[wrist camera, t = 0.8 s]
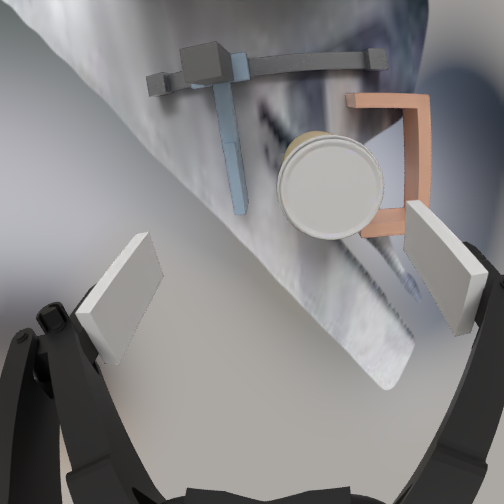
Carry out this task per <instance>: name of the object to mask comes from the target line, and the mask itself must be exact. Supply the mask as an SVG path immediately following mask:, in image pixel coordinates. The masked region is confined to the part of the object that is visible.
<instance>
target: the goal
mask: <svg viewBox="0 0 504 504" xmlns="http://www.w3.org/2000/svg"><path fill="white" fill-rule="evenodd" d="M345 94H346V103H347V107H353V108H402V109H403V125H404V150H405V151H404V157H405V184H404V187H405V188H404V208H390V209H379V210H378V212H377V213H376V215H375V217H374V218H373V219H372V221H371V222H370V223H369V224H368V225H367V226H366V227H365V228H363V229H362V230H361V231H359V232H358V233H359V235H360V236H361V238H368V237H379V236H391V235H401V234H405V215H406V201H413V200H420V201H421V202H422V203H423V204H424V205H425V206H426V207H427V208H428V209H429V206H430V188H431V119H430V100H429V95H424V94H406V93H345Z"/></svg>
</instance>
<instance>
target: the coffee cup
mask: <svg viewBox="0 0 504 504" xmlns="http://www.w3.org/2000/svg"><path fill="white" fill-rule="evenodd" d="M383 194H384V180H383V175H382V171H381V168H380V166H379V164H378V162H377V160H376V158H375V157H374V156H373V154H372V153H371V152H370V151H369V150H368V149H367V148H366V147H365V146H364V145H362V144H361V143H359V142H358V141H356V140H354V139H351V138H349V137H346V136H341V135H335V134H331V133H327V132H323V131H311V132H307V133H304V134H302V135H300V136H298V137H297V138H295V139H294V140H293V141H292V142H291V143H290V145H289V146H288V148H287V150H286V152H285V155H284V159H283V163H282V167H281V169H280V172H279V175H278V180H277V196H278V201H279V204H280V207H281V209H282V211H283V213H284V215H285V216H286V218H287V219H288V220H289V222H290V223H291V224H292V225H293V226H294V227H295V228H297V229H298V230H299V231H301V232H303V233H304V234H306V235H308V236H311V237H314V238H318V239H325V240H336V239H342V238H346V237H349V236H352V235H354V234H356V233H357V232H359V231H361V230H362V229H363V228H365V227H366V226H367V225H368V224H369V223H370V222H371V221H372V219H373V218H374V217H375V215H376V213H377V212H378V210H379V208H380V205H381V202H382V199H383Z"/></svg>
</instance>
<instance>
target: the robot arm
mask: <svg viewBox="0 0 504 504" xmlns="http://www.w3.org/2000/svg"><path fill="white" fill-rule="evenodd" d="M404 251H405V253H406V254H407V256H408V257H409V259H410V261H411V262H412V264H413V265H414V267H415V269H416V270H417V272H418V273H419V275H420V277H421V278H422V280H423V282H424V283H425V285H426V287H427V288H428V290H429V292H430V293H431V295H432V296H433V298H434V300H435V301H436V304H437V305H438V307H439V309H440V310H441V312H442V314H443V316H444V318H445V319H446V321H447V323H448V325H449V327H450V329H451V330H452V333H453V335H454V336H460V335H464V334H468V333H470V332H471V330H472V327H473V324H474V321H475V322H476V323H477V325H478V327H479V329H478V332H477V335H476V338H475V340H474V343H473V345H472V350H471V353H470V356H469V359H468V362H467V364H466V367H465V370H464V372H463V375H462V378H461V380H460V383H459V385H458V387H457V390H456V392H455V395H454V397H453V399H452V401H451V404H450V406H449V408H448V410H447V413H446V415H445V417H444V419H443V421H442V423H441V425H440V427H439V429H438V431H437V433H436V435H435V437H434V439H433V441H432V442H431V444H430V446H429V448H428V450H427V452H426V453H425V455H424V457H423V459H422V460H421V462H420V464H419V465H418V467H417V469H416V471H415V472H414V474H413V475H412V477H411V479H410V480H409V482H408V483H407V485H406V486H405V487H404V489H403V490H402V492H401V493H400V494H399V496H398V497H397V499H396V500H395V502H394V503H393V504H472V503H473V501H474V499H475V497H476V495H477V493H478V491H479V489H480V486H481V484H482V482H483V480H484V477H485V474H486V472H487V467H488V465H487V464H486V462H485V461H486V457H487V454H488V452H489V449H490V446H491V443H492V441H493V438H494V435H495V433H496V430H497V426H498V424H499V420H500V417H501V414H502V411H503V407H504V275H500V273H499V272H498V271H497V270H496V269H495V267H494V266H493V265H492V264H491V263H490V262H489V261H488V260H486V257H485V256H484V255H482V253H481V252H480V251H479V250H478V249H477V248H476V247H475V246H473V245H471V244H470V243H468V242H461V241H460V240H459V239H458V238H457V237H456V236H455V235H454V234H453V233H452V232H451V231H450V229H449V228H447V226H446V225H445V224H444V223H443V222H442V221H441V220H440V219H439V218H438V217H437V216H436V215H435V214H434V213H433V212H431V211H430V210H429V209H428V208H427V207H426V206H425V205H424V204H423V203H422V202H421V201H420V200H413V201H406V215H405V237H404ZM163 277H164V275H163V272H162V269H161V266H160V263H159V261H158V258H157V255H156V252H155V249H154V246H153V243H152V240H151V237H150V234H149V232H146V233H139V234H136V235H135V236H134V238H133V239H132V240H131V241H130V242H129V244H128V245H127V246H126V247H125V248H124V250H123V251H122V252H121V253H120V255H119V256H118V257H117V258H116V260H115V261H114V262H113V263H112V265H111V266H110V267H109V268H108V270H107V271H106V272H105V274H104V275H103V276H102V277H101V279H100V280H99V282H98V283H96V284H95V285H94V286H93V287H92V288H90V289H89V290H88V292H87V293H86V295H85V297H83V299H82V300H81V302H80V303H79V304H78V305H77V307H76V308H75V309H74V311H73V312H72V313H71V315H70V317H69V316H68V314H67V312H66V311H65V309H64V307H63V305H62V304H61V303H60V302H53V303H51V304H48V305H47V306H45V307H43V308H42V309H41V310H40V311H39V313H38V314H37V316H36V319H37V321H38V323H39V325H40V326H41V328H42V329H43V331H44V333H45V335H40V336H36V334H35V333H34V331H33V330H32V329H31V328H26V329H23V330H20V331H19V332H17V333H16V335H15V336H14V337H13V339H12V341H11V344H10V347H9V350H8V353H7V356H6V360H5V363H4V367H3V370H2V373H1V377H0V504H62V494H61V481H60V480H61V479H60V455H59V454H60V451H59V435H60V431H59V430H60V425H61V430H62V434H63V438H64V442H65V445H66V449H67V453H68V456H69V460H70V463H71V466H72V471H71V472H69V473H67V474H66V482H67V485H68V488H69V491H70V495H71V497H72V500H73V503H74V504H385V503H384V502H381V501H379V500H377V499H374V498H371V497H368V496H362V495H356V494H351V493H350V487H342V488H334V489H324V490H312V491H307V492H303V493H299V494H296V495H292V496H288V497H284V498H280V499H276V500H272V501H265V502H264V501H259V500H255V499H251V498H247V497H243V496H239V495H236V494H232V493H228V492H225V491H214V490H202V489H193V488H187V490H186V495H185V496H181V497H177V498H173V499H170V500H167V501H166V499H165V498H164V497H163V496H162V495H161V494H160V492H159V491H158V490H157V489H156V487H155V486H154V484H153V482H152V480H151V479H150V477H149V475H148V473H147V471H146V470H145V468H144V466H143V464H142V462H141V460H140V458H139V456H138V454H137V453H136V451H135V449H134V447H133V445H132V443H131V441H130V438H129V436H128V434H127V432H126V430H125V428H124V426H123V423H122V421H121V419H120V417H119V415H118V412H117V410H116V408H115V405H114V403H113V401H112V398H111V396H110V394H109V391H108V388H107V386H106V383H105V381H104V378H103V375H102V373H101V370H100V367H99V365H98V364H97V362H96V361H95V360H96V358H97V356H98V354H99V355H100V357H101V358H102V360H103V361H104V363H105V364H118V365H119V364H120V363H121V360H122V358H123V356H124V354H125V352H126V350H127V348H128V346H129V343H130V341H131V339H132V337H133V335H134V333H135V331H136V329H137V327H138V325H139V323H140V321H141V319H142V317H143V315H144V313H145V311H146V309H147V307H148V306H149V304H150V302H151V300H152V298H153V296H154V294H155V292H156V290H157V288H158V286H159V284H160V282H161V281H162V279H163ZM34 377H35V379H34Z"/></svg>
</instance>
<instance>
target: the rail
mask: <svg viewBox="0 0 504 504" xmlns="http://www.w3.org/2000/svg"><path fill="white" fill-rule="evenodd" d="M248 66H249V72H250V77H252V76H259V75H268V74H277V73H287V72H299V71H315V70H339V69H363V70H364V71H383V70H388V64H387V57H386V50H385V49H377V48H367V49H365V50H363V51H361V52H320V53H302V54H289V55H278V56H268V57H260V58H252V59H248ZM146 80H147V86H148V92H149V97H150V96H161V95H165V94H169V93H173V92H174V91H175V90H179V89H184V88H188V87H192V85H191V84H189V83H185V81H184V75H183V71H181V72H177V73H173V74H170V73H164V72H161V73H158V74H154V75H150V76H147V77H146Z"/></svg>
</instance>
